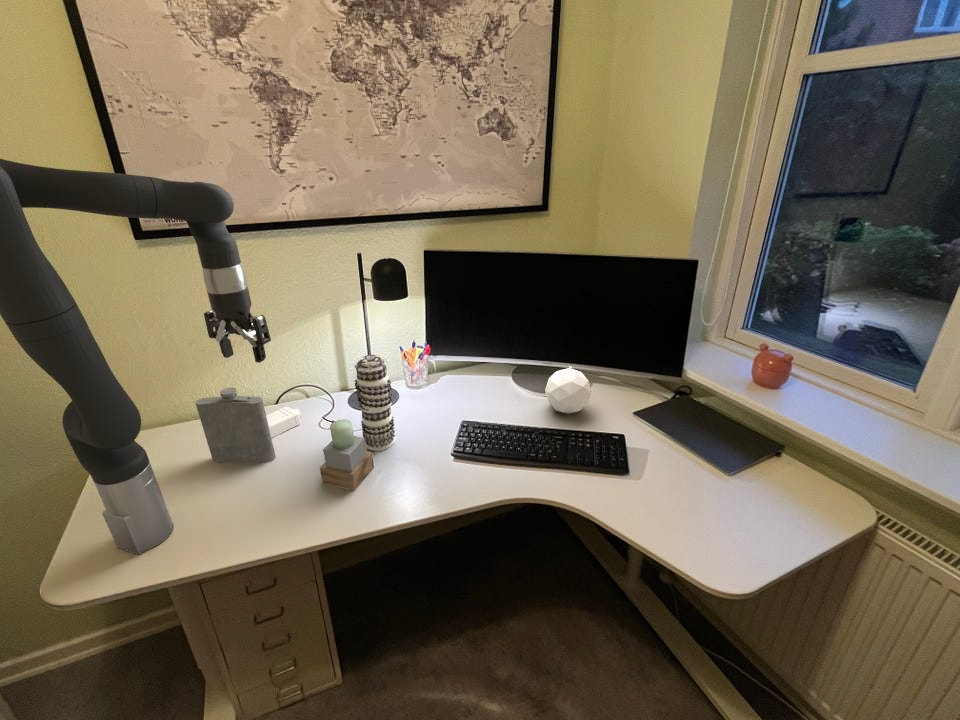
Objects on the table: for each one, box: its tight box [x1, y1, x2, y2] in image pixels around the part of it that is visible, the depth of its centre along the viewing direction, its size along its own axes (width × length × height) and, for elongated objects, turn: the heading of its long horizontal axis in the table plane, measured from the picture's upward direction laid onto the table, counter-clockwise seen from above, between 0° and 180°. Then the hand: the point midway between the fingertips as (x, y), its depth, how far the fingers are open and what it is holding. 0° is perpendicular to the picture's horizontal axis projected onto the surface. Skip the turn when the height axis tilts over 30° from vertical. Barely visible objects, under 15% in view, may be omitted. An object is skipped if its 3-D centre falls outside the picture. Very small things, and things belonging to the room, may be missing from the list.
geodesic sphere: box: [544, 365, 592, 415], centre depth 144 cm, size 14×14×14 cm
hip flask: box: [195, 386, 277, 464], centre depth 121 cm, size 16×4×20 cm, turn 91°
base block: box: [319, 451, 375, 492], centre depth 118 cm, size 9×9×5 cm
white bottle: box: [266, 406, 302, 439], centre depth 137 cm, size 7×13×4 cm, turn 141°
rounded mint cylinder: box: [329, 419, 355, 449], centre depth 114 cm, size 5×5×5 cm
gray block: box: [322, 435, 368, 472], centre depth 116 cm, size 7×7×5 cm
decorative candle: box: [354, 354, 396, 452], centre depth 126 cm, size 9×9×25 cm
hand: (244, 358), depth 105 cm, fingers open, 8 cm apart
